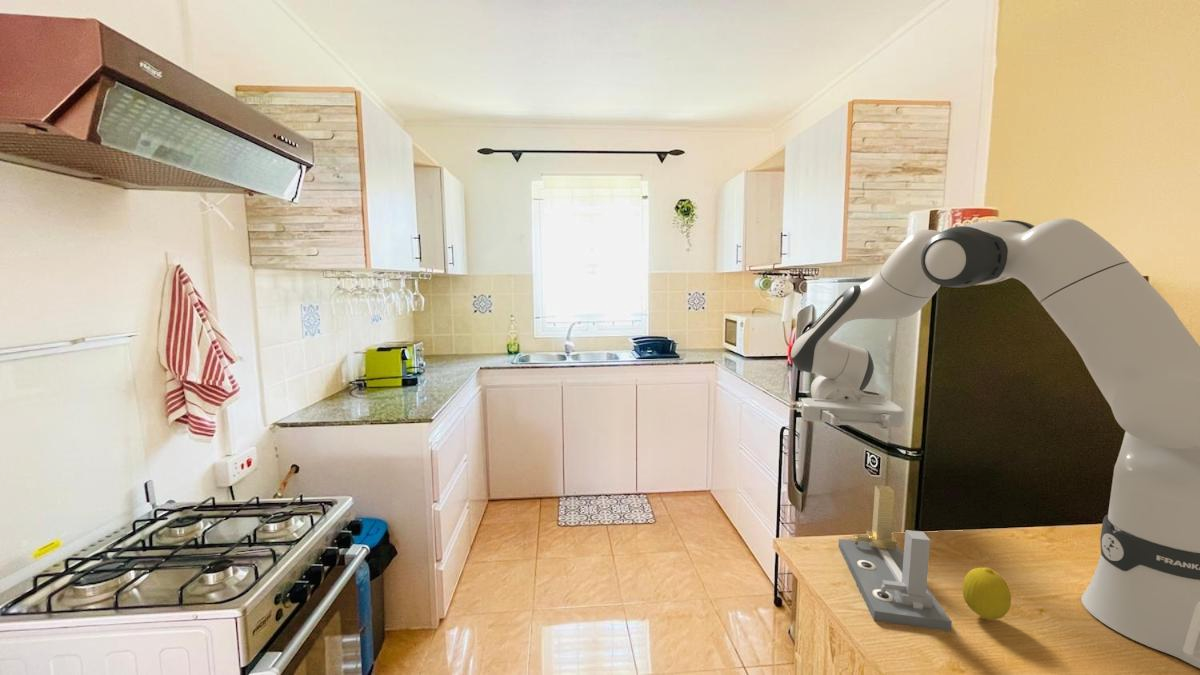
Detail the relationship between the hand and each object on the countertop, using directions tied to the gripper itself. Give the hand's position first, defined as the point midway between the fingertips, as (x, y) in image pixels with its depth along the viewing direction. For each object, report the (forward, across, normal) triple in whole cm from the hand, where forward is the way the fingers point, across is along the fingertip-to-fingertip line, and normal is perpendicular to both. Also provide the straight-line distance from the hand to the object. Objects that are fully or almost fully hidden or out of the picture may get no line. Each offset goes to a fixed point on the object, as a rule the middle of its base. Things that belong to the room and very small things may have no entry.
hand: (861, 423), depth 96 cm
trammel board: (+22, -1, +20) cm, 30 cm away
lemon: (+28, +10, +20) cm, 36 cm away
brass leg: (+14, -1, +19) cm, 23 cm away
